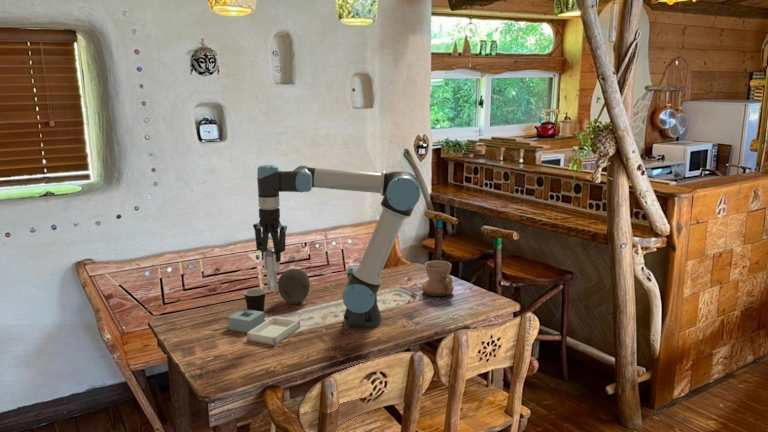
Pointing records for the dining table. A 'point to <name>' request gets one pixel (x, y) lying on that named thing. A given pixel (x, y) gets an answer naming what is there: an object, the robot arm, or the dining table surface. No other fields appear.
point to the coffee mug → (255, 299)
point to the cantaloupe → (293, 285)
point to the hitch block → (245, 320)
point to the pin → (271, 270)
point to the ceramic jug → (438, 278)
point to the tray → (273, 330)
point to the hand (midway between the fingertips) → (271, 269)
